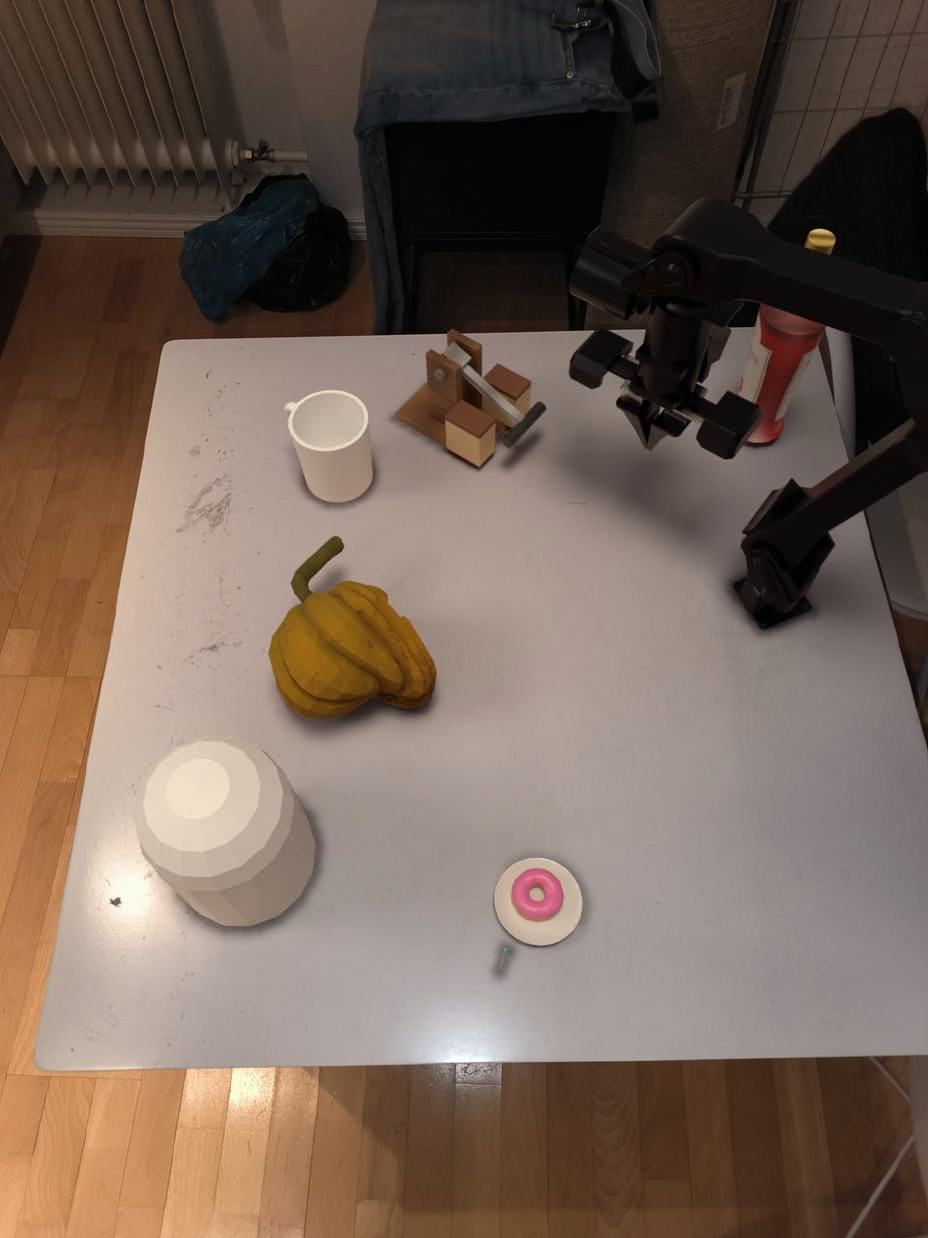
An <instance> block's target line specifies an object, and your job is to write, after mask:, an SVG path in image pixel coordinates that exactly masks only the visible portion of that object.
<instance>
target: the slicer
mask: <svg viewBox="0 0 928 1238" xmlns="http://www.w3.org/2000/svg"><path fill="white" fill-rule="evenodd" d="M453 342H455V343H456V344H457V345H458V346H459V347H460V348H461V349H462V350H464V351H465V352H466V353H467V354H468V355H469V356H470V357H471V360H470V362H469V364H468V365H469V366H470V367H471V368H472V369H473V370H474V371H475V372H477V373H478V374H479V375H480V376H481V377H482V378H483V344H481V343H480V342H478V341H476V340H474V339H472V338H471V337H469V336H467V335H465V334H463V333H461V332H459V331H458V330H456V329H454V328H451V329H449V331H448V332H446V344H447V345H446V346H447V348H448V347H449V346H450V345H451V344H452V343H453ZM447 348H446V349H447ZM441 354H442V353H439V352H437V351H435V350H434V349H432V348H430V349H429V350H428V351H426V353H425V364H426V365H425V367H426V382H425V384H423V386H421V387H420V389H418V390H417V391H416V392H415V393H414V394H413V395H412V396H411V397H410V398H409V399H408V400H407V401H406V402H404V404H403V405H402V406H401V407H400V408H399V409H398V410H396V412H395V418H396V420H397V421H399V422H400V423H402V424H404V425H406V426H408V427H409V428H411V429H413V430H414V431H416V432H418V433H420V434H421V435H423V436H425V437H427V438H428V439H430V440H431V441H433V442H435V443H437V444H438V445H440V446H441V447H444V448H445V449H447V450H449V449H448V448H446V425H445V416H446V415H447V414H448V413H449V412H450V411H451V410H452V409H453V408H454V407H455V406H456V405H457V404H458V403H459V402H460V401H461V400H463V401H465V402H467V403H468V404H470V405H472V406H474V407H476V408H477V409H479V410H481V411H482V394H481V393H480V392H479V391H478V390H477V389H476V388H475V387H473V386H472V385H471V384H470V383H469V382H468V381H467V380H466V379H465V378H464V377H462V376H461V365H459V364H458V363H456V362H454V361H452V360H450V359H448V358H447V357H445V356H443V355H441ZM495 423H496V426H495V441H496V440H497V439H498V437H500V435H502V434H503V432H504V431H505V430H506V429H507V428H508V427H509V426H507V425H505V424H504V423H502V422H500V421H498V420H497V419H496V422H495ZM451 452H452V453H454V454H456V453H455V452H453V451H451ZM456 455H458V454H456ZM458 456H459V457H461V456H460V455H458ZM463 459H464V460H466V461H468V460H467V459H465V458H463ZM468 462H469V463H471V464H473V463H472V462H470V461H468Z"/></svg>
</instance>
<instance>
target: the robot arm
mask: <svg viewBox="0 0 928 1238" xmlns="http://www.w3.org/2000/svg"><path fill="white" fill-rule="evenodd" d="M568 289H569V293H570V294H571V295H573V296H574V297H576V298H578V299H580V300H582V301H585V302H587V303H588V304H590V305H592V306H595V307H596V308H599V309H601V310H603V311H605V312H606V313H609V314H611V315H612V316H615V317H617V318H619V319H620V320H624V321H625V322H628V321H629V320H630V318H631V317H632V316H633V315H634V314H637V315H642V314H643V313H644V312H646V310H647V309H648V308H649V312H648V315H647V321H646V326H645V332H644V336H643V342H642V344H641V345H640V346H639V347H638V348H636V350H635V354H634V356H633V355H630V354H631V353H632V352H633V349H634V342H633V341H631V340H629V339H627V338H625V337H623V336H622V335H619V334H617V333H616V332H613V331H611V330H609V329H607V328H605V327H603V326H601V327H599V328H597V329H595V330H594V331H593V332H592V333H590V335H589V336H588V337H587V338H586V339H585V340H584V342H582V344H580V346H579V347H577V348H576V350H575V351H574V352H573V354H572V356H571V358H570V360H569V365H568V376H569V379H570V380H573V381H575V382H577V383H578V384H580V385H582V386H584V387H586V388H588V389H590V390H595V389H599V388H600V387H601V386H602V385H603V381H604V377H605V376H606V375H607V374H608V373H611V374H613V375H614V376H616V377H617V378H620V379H622V380H624V381H623V383H621V385H620V387H619V390H620V391H621V393H620V396H619V397H618V398H617V399H616V400H615V407H616V408H617V409H619V410H620V411H621V412H622V413H623V414H624V415H625V417H626V418H627V420H628V422H629V423H630V425H631V426H632V428H633V429H634V431H635V433H636V435H637V437H638V438H639V441H640V442H641V444H642V446H643V448H644V449H645V450H648V451H649V452H652V451H653V450H654V449H655V447H656V446H657V445H658V444H659V442H660V441H662V440H663V439H664V438H666V437H668V436H670V437H672V438H680V436H681V435H682V434H683V433H685V431H686V429H687V428H688V427H689V426H690V425H691V423H692V422H693V423H695V424H696V425H699V428H698V429H697V433H696V436H695V440H696V442H697V443H698V445H699V446H700V448H702V449H703V450H705V451H707V452H709V453H712V455H715V456H717V457H718V458H720V459H722V460H725V461H726V460H733V459H734V458H736V456H737V454H738V453H739V452H740V450H741V449H742V448H743V447H744V446H745V444H746V443H747V442H748V441H747V440H748V439H749V437H750V436H751V435H752V434H753V432H754V431H755V430H756V428H757V427H758V426H759V423H760V421H761V418H762V415H763V413H762V409H761V406H759V405H757V404H755V403H753V402H751V401H749V400H747V399H745V398H743V397H741V396H739V395H737V393H735V392H733V391H732V390H731V391H730V390H726V392H725V393H724V394H723V395H722V397H721V398H720V399H719V400H718V402H716V403H714V402H712V401H710V400H708V399H706V398H705V397H706V395H707V393H708V392H709V389H708V388H707V387H705V386H703V385H701V384H704V382H705V381H706V379H708V377H709V375H710V371H711V368H712V365H713V364H715V363H716V362H718V361H720V360H721V357H722V355H723V353H724V350H725V347H726V345H727V343H728V341H729V338H730V336H731V333H732V329H731V328H730V326H728V324H729V323H730V321H732V319H733V318H734V317H735V316H736V314H737V313H738V312H739V311H740V310H741V309H742V308H743V306H744V304H745V302H744V301H748V302H754V303H757V304H758V303H759V304H760V305H761V304H764V305H766V306H769V307H772V308H775V309H778V310H781V311H784V312H787V313H790V314H793V315H795V316H798V317H801V318H804V319H807V320H810V321H813V322H816V323H819V324H822V325H824V326H826V328H827V327H828V328H830V329H832V330H833V329H834V330H836V331H839V332H841V333H845V334H847V335H851V336H852V337H856V338H860V339H862V340H865V341H869V342H871V343H874V344H876V345H879V346H881V347H884V349H885V351H886V352H887V353H888V355H889V357H890V359H891V360H892V362H894V364H895V366H896V371H897V375H898V381H899V384H900V389H901V392H902V393H901V394H902V398H903V401H904V405H905V408H906V411H907V413H908V415H909V416H910V418H909V419H908V420H907V421H905V422H903V424H901V425H900V426H897V428H895V429H893V431H891V432H890V433H888V434H887V435H885V436H884V437H882V438H881V439H880V440H878V441H877V442H875V443H873V444H872V445H871V446H870V447H868V448H866V449H865V450H863V451H862V452H861V453H860V454H858V455H857V456H855V457H853V459H851V460H850V461H848V462H846V463H845V464H844V465H842V466H840V468H838V469H836V470H835V471H833V472H832V473H831V474H830V475H828V476H826V477H824V478H823V480H821V481H819V482H818V483H816V484H815V485H814V486H812V487H805V486H801V485H799V484H798V483H797V482H796V480H795V479H794V478H793V477H791V478H789V480H788V481H787V482H786V484H785V485H784V486H781V488H778V489H773V490H771V492H769V494H768V495H767V497H766V498H765V500H764V501H763V502H762V503H761V505H760V506H759V507H758V509H757V511H756V512H755V513H754V515H753V516H752V517H751V518H750V520H749V521H748V523H747V524H746V525H745V527H744V528H743V529H742V530H741V534H742V535H744V537H743V538H742V539H741V541H740V544H739V547H740V549H741V551H742V553H743V555H744V557H745V565H746V572H747V576H745V577H743V578H740V579H738V580H735V581H734V582H733V584H732V588H733V589H734V591H735V593H736V594H737V596H738V599H739V601H740V603H741V604H742V605H743V607H744V609H745V610H746V611H747V613H748V615H750V616H751V617H752V618H753V620H754V621H755V622H756V624H757V626H758V627H759V629H761V630H763V631H766V630H769V629H771V628H773V627H776V626H779V625H780V624H781V625H782V624H783V623H786V622H788V621H791V620H793V619H795V618H798V617H800V616H803V615H805V614H808V613H810V612H812V610H813V605H812V603H811V602H810V600H809V599H808V598H807V596H806V595H807V594H808V592H809V591H810V589H811V587H812V585H813V584H814V582H815V580H816V578H817V576H818V575H819V573H820V571H821V568H822V566H823V564H824V563H825V562H826V560H827V559H828V557H829V556H830V554H831V553H832V551H833V550H834V549H835V547H836V542H835V540H834V539H833V537H832V535H831V534H830V531H832V530H834V529H835V528H837V527H838V526H841V525H842V524H843V523H845V522H847V521H849V520H850V519H852V518H853V517H855V516H856V515H858V514H860V513H861V512H864V511H865V510H867V508H870V507H871V506H873V505H875V504H876V503H878V502H879V501H881V500H883V499H885V498H886V497H888V496H889V495H891V494H893V493H894V492H896V491H898V490H899V489H901V488H903V487H904V486H905V485H907V484H909V483H910V482H912V481H914V480H915V479H917V478H919V477H920V476H922V475H924V474H926V473H928V281H927V280H926V281H924V282H923V281H922V282H919V281H915V280H912V279H909V278H906V277H902V276H899V275H896V274H893V273H889V272H886V271H883V270H879V269H876V268H874V267H870V266H867V265H864V264H861V263H857V262H854V261H851V260H848V259H846V258H845V259H844V258H842V257H838V256H835V255H832V254H830V255H829V254H826V253H823V252H819V251H816V250H813V249H810V248H807V247H804V246H803V245H800V244H796V243H793V242H790V241H787V240H785V239H782V238H780V237H778V236H776V235H775V234H772V233H771V232H770V231H769V229H767V228H766V226H765V225H764V224H763V223H762V221H761V220H760V219H759V218H758V217H757V216H756V215H755V214H753V213H751V212H749V210H748V211H747V210H746V209H744V208H742V207H739V206H737V205H735V204H733V203H731V202H730V201H728V200H725V199H724V198H721V197H716V196H709V195H708V196H703V197H700V199H697V200H696V201H695V202H692V203H691V204H690V205H689V206H688V207H687V208H686V209H685V210H684V211H683V212H682V213H680V215H679V216H678V217H677V218H676V220H674V221H673V222H672V223H671V224H670V225H669V227H668V228H667V229H665V231H664V232H663V233H662V234H660V236H659V237H658V238H657V239H656V241H655V242H654V243H653V245H652V246H651V247H650V248H647V247H644V246H642V245H640V244H638V243H635V242H633V241H631V240H628V239H627V238H624V237H623V236H620V235H619V234H617V233H615V232H614V231H613V230H611V229H609V228H607V227H605V226H603V225H598V226H597V227H596V228H595V229H594V230H593V231H592V232H590V234H589V235H588V236H587V237H586V240H585V247H584V248H583V250H582V251H581V253H580V255H579V257H578V259H577V261H576V264H575V266H574V269H573V272H572V273H571V274H570V276H569V280H568ZM661 408H662V411H661Z"/></svg>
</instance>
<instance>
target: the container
mask: <svg viewBox="0 0 928 1238" xmlns="http://www.w3.org/2000/svg"><path fill="white" fill-rule="evenodd" d="M132 817H133V821H134V825H135V826H134V827H135V831H136V835H137V840H138V844H139V849H140V853H141V855H142V857H143V858H144V859H145V860H146V862H148V864H149V865H150V867H151V868H152V869H153V871H154V872H155V873H156V875H157V876H158V877H159V878H160V879H161V880H162V881H163V882H164V883H166V884H167V885H168V886H169V888H171V889H172V890H173V891H174V892H175V893H176V894H177V895H179V897H180V898H181V899H182V900H184V901H185V902H186V903H187V904H188V905H189V906H190V907H192V909H193V910H195V911H196V912H197V913H198V914H199V915H201V916H203V917H205V918H207V919H209V920H211V921H213V922H215V923H216V924H219V925H221V926H223V927H225V926H226V927H253V926H256V925H259V924H261V923H264V922H267V921H270V920H272V919H275V918H277V917H279V916H280V915H281V914H283V913H284V912H285V911H286V910H287V909H289V907H291V905H293V904H294V903H295V902H296V901H297V900H298V899H299V898H301V896H302V894H303V892H304V890H305V888H306V886H307V884H308V883H309V881H310V879H311V877H312V875H313V873H314V865H315V857H316V847H317V845H316V842H315V837H314V836H313V835H314V834H313V832H312V828H311V825H310V822H309V820H308V817H307V816H306V813H305V811H304V809H303V807H302V805H301V802H300V801H299V798H298V797H297V795H296V792H295V791H294V789H293V786H292V784H291V782H290V780H289V778H288V776H287V773H286V772H285V770H283V768H282V767H281V766H280V764H278V763H277V762H276V761H275V759H274V758H272V756H271V755H270V754H269V753H268V752H267V751H265V750H264V749H263V748H261V747H260V746H257V745H256V744H253V743H251V742H248V741H246V740H244V739H242V738H240V737H237V736H235V735H213V734H211V735H209V734H208V735H207V734H206V735H202V736H200V737H196V738H193V739H191V740H188V741H185V742H183V743H182V742H181V743H179V744H178V745H176V746H175V747H174V748H172V749H171V750H169V751H168V752H166V754H165V755H163V756H162V757H161V758H159V759H158V760H157V761H156V762H154V764H153V765H152V767H151V768H150V769H149V771H148V773H147V775H146V776H145V778H144V779H143V781H141V784H140V785H139V787H138V791H137V795H136V800H135V805H134V810H133V814H132Z"/></svg>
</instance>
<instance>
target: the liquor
mask: <svg viewBox="0 0 928 1238" xmlns="http://www.w3.org/2000/svg"><path fill="white" fill-rule="evenodd" d="M836 241H837V240H836V236H835V234H834V233H833V232H831V231H830V230H827V229H824V228H815V229H813V230H811V231H810V232H809V233H808V235H807V237H806V241H805V243H804V246H803V247H807V248H810V249H813V250H816V251H819V252H823V253H826V254H829V255H832V251H833V248H834V246H835V243H836ZM756 317H757V318H756V320H755V325H754V327H753V331H752V334H751V338H750V339H751V340H750V342H749V348H748V352H747V356H746V361H745V365H744V368H743V372H742V375H741V380H740V381H739V382H740V383H739V386H738V390H737V393H736V394H737V395H739V396H741V397H743V398H745V399H747V400H749V401H751V402H753V403H755V404H757V405H759V406H761V409H762V413H763V415H762V418H761V421H760V423H759V426H758V427H757V428H756V430H755V431H754V432H753V434H752V435H751V436H750V437H749V439H748V440H747V441H746V442H750V443H757V444H759V443H760V444H761V443H767V442H770V441H773V440H775V439H777V438H778V437H779V436H780V435H781V434H782V432H783V429H784V423H785V422H784V417H785V414H786V412H787V411H788V408H789V406H790V403H791V402H792V399H793V398H794V394H795V393H796V391H797V388H798V386H799V384H800V382H801V380H802V378H803V376H804V374H805V372H806V371H807V368H808V366H809V364H810V362H811V361H812V358H813V357H814V354H815V352H816V349H817V348H818V345H819V344H820V341H821V338H822V336H823V334H824V332H825V330H826V328H827V326H824V325H822V324H819V323H816V322H813V321H810V320H807V319H804V318H801V317H798V316H795V315H793V314H790V313H787V312H784V311H781V310H778V309H775V308H772V307H769V306H766V305H764V304H761V303H760V306H759V309H758V313H757V316H756Z"/></svg>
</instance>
